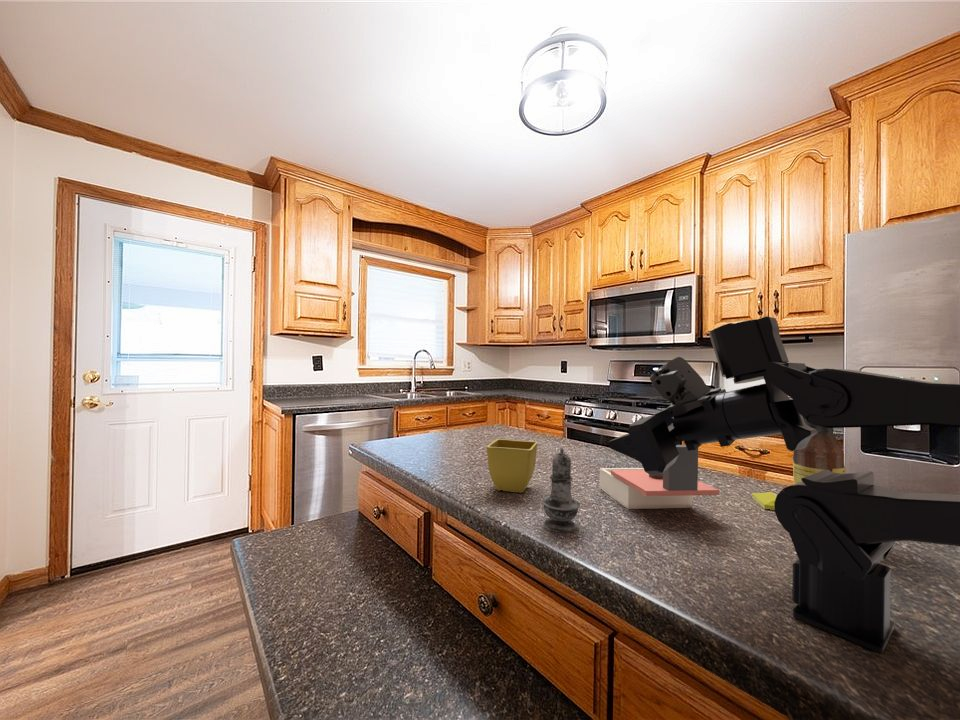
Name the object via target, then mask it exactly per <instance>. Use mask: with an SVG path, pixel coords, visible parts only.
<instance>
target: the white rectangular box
mask: <svg viewBox="0 0 960 720" xmlns="http://www.w3.org/2000/svg"><path fill="white" fill-rule="evenodd" d="M611 470H644V468H643V467H613V468H612V467H608V468H607V467H605V468H604V467H602V468H601V467H600V468H599V478H598V479H599V480H598V481H599V485H598V486H599V487H598V488H599V489H600V490H601V489H602V490H601V491H603V492H604V493H605V494H607V495H608V496H609V497H611V498H612V499H614V500H615V502H617V503H619V504H620V505H622V506H623V507H625V508H626V509H628V510H644V509H646V510H647V509H648V510H650V509H654V510H655V509H692V507H693V495H687V496H645V495H643V494H642V493H640V492H639V491H637V490H635V489H634V488H632V487H630V486H629V485H627V484H626V483H624V482H622V481H621V480H619V479H617V478H616V477H614V476H612V475H611Z"/></svg>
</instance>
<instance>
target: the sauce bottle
mask: <svg viewBox="0 0 960 720" xmlns="http://www.w3.org/2000/svg"><path fill="white" fill-rule="evenodd" d="M802 417H803V416H802ZM803 420H804V422H805V423H806V424H807V425H808V426H810V427H811V428H813V429H816V430H817V434H816V435H814V436H813V437H812V438H811V439H810V441H809V442H808V444H807V446H806V448H803V449H799V450H795V451H793V454H792V467H793V468H792V469H793V470H792V471H793V473H792V474H793V477H792V478H793V484H796V483H799V482H801V481H802V480H801V479H802V478H804V477H807V476H809V475H812V474H815V473H817V472H820V471H823V470H828V471H831V472H834V473H842V474H846V466H845V461H844V459H845V458H844V457H845V455H844V450H843V448H842V447H843V446H842V445H841V442H839V440H838V439H837V438H836V436H835V434H834V432H835V431H834V429H835V428H826V427H821V426H817V425H814V424H812V423H810V422H808V421H807V420H806V419H805V418H804V417H803Z"/></svg>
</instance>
